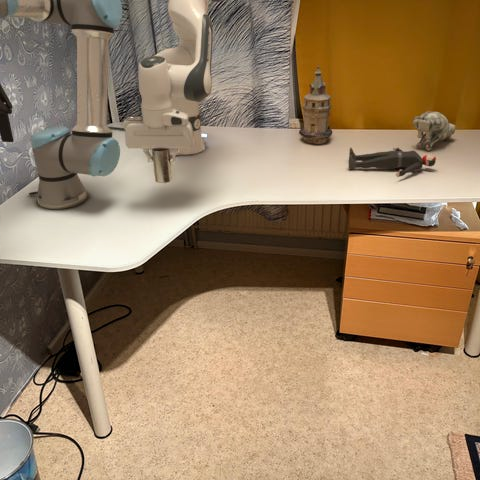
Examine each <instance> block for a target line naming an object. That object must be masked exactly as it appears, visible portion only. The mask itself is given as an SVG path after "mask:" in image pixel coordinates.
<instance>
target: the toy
mask: <svg viewBox="0 0 480 480" xmlns="http://www.w3.org/2000/svg"><path fill="white" fill-rule="evenodd" d="M348 153H349V154H348V169H349V170H354V169H372V168H374V169H390V170H393V169H397V168H405V169H399V170H398V172H396V173H395V177H396V178H401V177H403V176H405V175H406V174H408V173H412V172H418V171H421V169H422V167H423V166H426V167H433V166H435V165H436V160H437V157H436V156H435V155H433V154H426V155H423V157H421V155H420V154H419V153H418V152H417V151H416V150H408V151H403V150H402V149H401V148H400V147H398V146H397V147H392V150H389V151H377V152H373V153H365V154H364V153H363V154H356V153H355V152H354V150H353V148H352V147H350V148H349V152H348Z"/></svg>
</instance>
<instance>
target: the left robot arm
mask: <svg viewBox="0 0 480 480" xmlns="http://www.w3.org/2000/svg"><path fill="white" fill-rule="evenodd" d="M7 18H9V19H10V18H11V19H13V18H15V19H17V18H19V19H21V18H24V19H26V18H27V19H30V20H31V21H34V22H43V23H44V22H45V23H50V24H51V23H52V24H57V25H62V26H70V27H71V28H70V29H71V33H72V34H73V35H74V36H75V37H76V91H77V92H76V93H77V95H76V102H77V103H76V104H77V105H76V108H77V110H76V111H77V113H76V115H77V117H76V118H77V119H76V121H77V122H76V125H74V126H73V127H72V129H70V128H69V127H68V126H63V125H59V126H53V127H48V128H44V129H41V130H38V131H36V132H35V133H33V134H32V135H31V138H30V141H31V150H32V153H33V157H34V162H35V166H36V170H37V175H38V186H37V187H38V188H37V191H33V192H29V193H28V195H29V196H34V195H36V199H37V204H38V205H39V207H41V208H43V209H47V210H65V209H70V208H73V207H76V206H79V205H80V204H82V203H84V202H85V201H86V200H87V198H88V194H87V193H88V192H87V190H86V188H85V185H84V184H83V182H82V180H81V178H80V177H79V175H88V176H91V177H107V176H110V175H111V174H112V173H113V172H115V169H116V168H117V166H118V164H119V161H120V157H121V147H120V145H119V144H120V143H119V141H118V140H117V139H116V138H114V137H113V129H110V128H109V127H110V126H109V125H108V99H109V98H108V97H109V95H108V93H109V92H108V91H109V90H108V89H109V87H108V86H109V85H108V84H109V40H111V38H113V37H114V35H115V34H114V30H115V29H116V28H118V27H120V25H121V22H122V20H123V5H122V1H121V0H0V20H1V19H2V20H5V19H7ZM13 107H14V106H13V104H12V102H11V100H10V98H9V96H8V95H7V93H6V91H5V89H4V87H3V86H2V85H1V83H0V139H1V142H2V143H14V142H15V139H14V135H13V131H12V127H11V122H10V116H9V115H12V114H13ZM78 174H79V175H78Z"/></svg>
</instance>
